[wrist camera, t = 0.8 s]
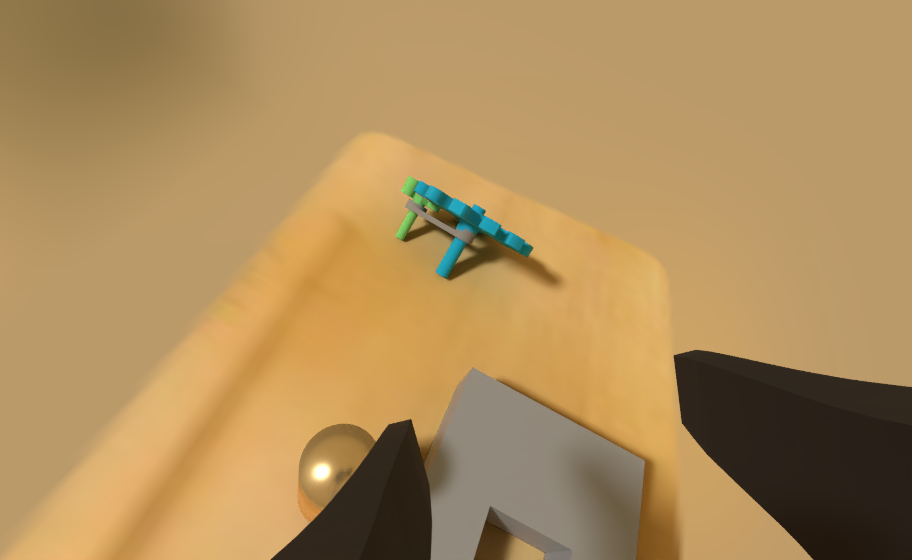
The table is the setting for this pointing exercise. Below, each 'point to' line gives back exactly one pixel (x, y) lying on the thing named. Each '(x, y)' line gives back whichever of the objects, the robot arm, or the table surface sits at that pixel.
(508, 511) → the hole plate
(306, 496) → the brass pin
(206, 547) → the table surface
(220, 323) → the table surface
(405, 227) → the teal knobby piece
